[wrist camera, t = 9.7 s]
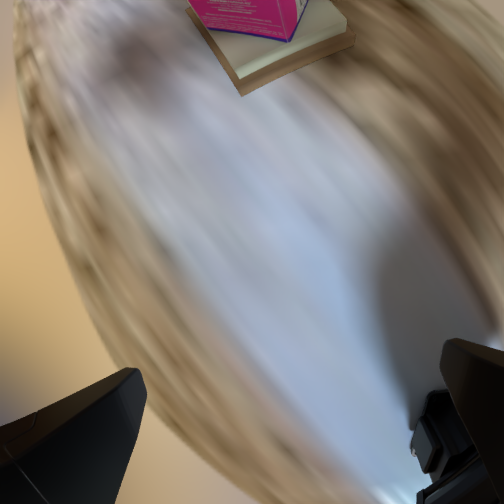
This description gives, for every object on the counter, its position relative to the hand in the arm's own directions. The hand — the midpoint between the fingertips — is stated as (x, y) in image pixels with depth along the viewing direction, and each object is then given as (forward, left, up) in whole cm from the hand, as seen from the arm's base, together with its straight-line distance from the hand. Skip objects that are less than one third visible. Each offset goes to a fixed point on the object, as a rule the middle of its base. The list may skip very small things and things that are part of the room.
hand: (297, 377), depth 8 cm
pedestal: (+2, -19, -12) cm, 22 cm away
